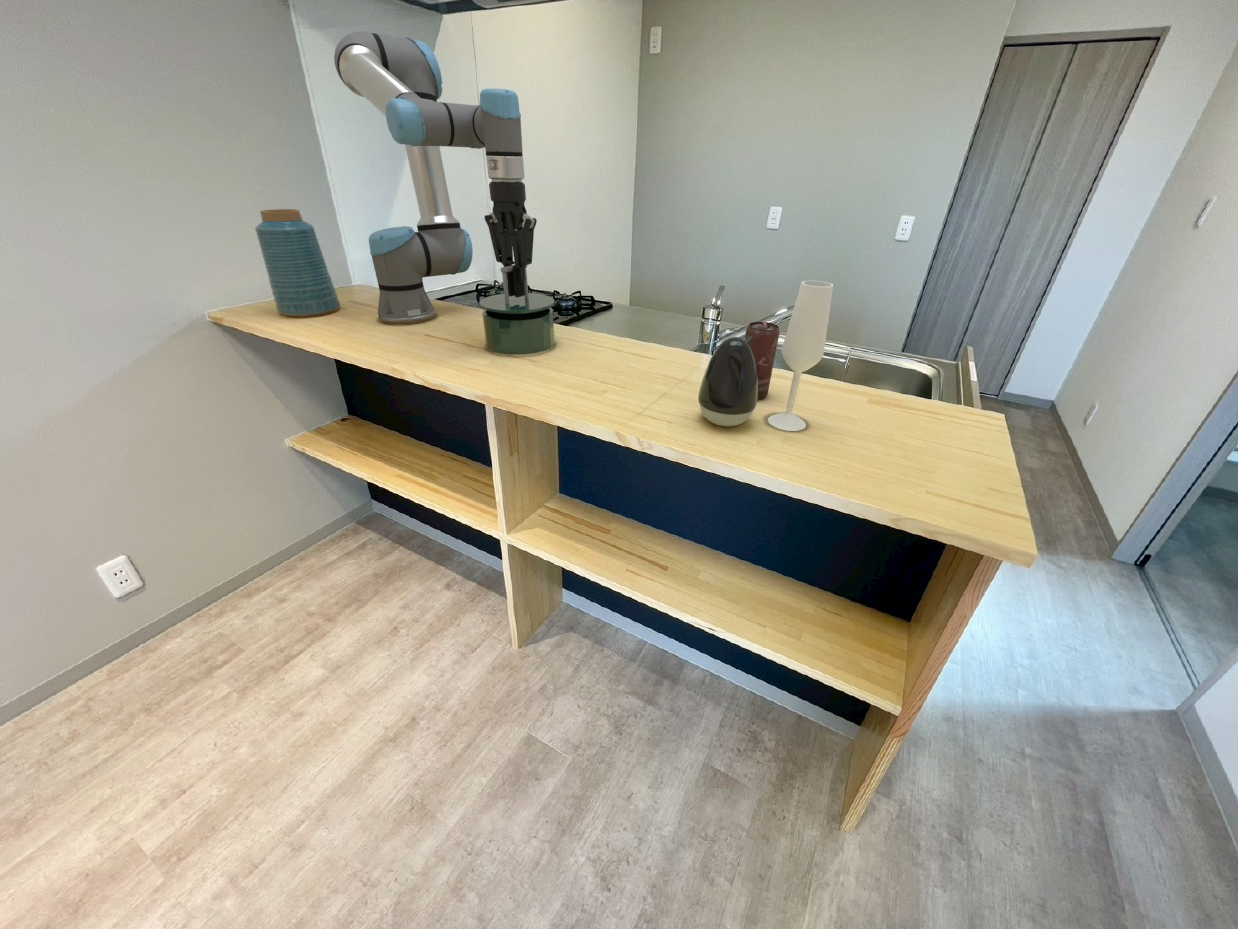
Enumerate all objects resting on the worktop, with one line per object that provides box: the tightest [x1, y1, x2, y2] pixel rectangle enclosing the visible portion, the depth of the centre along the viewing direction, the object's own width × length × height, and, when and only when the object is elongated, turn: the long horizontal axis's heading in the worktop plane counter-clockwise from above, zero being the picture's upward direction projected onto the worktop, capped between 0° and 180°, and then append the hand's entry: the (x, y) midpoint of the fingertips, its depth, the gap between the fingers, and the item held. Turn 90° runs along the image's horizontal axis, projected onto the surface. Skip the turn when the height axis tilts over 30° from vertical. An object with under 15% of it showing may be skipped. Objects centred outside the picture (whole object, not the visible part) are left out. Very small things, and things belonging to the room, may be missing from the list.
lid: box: [479, 264, 555, 314], centre depth 115 cm, size 18×18×9 cm
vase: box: [254, 208, 341, 319], centre depth 139 cm, size 16×16×27 cm
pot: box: [481, 307, 555, 356], centre depth 120 cm, size 17×17×8 cm
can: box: [744, 320, 780, 401], centre depth 96 cm, size 6×6×14 cm
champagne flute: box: [767, 280, 834, 432], centre depth 82 cm, size 7×7×24 cm
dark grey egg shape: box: [697, 336, 758, 428], centre depth 85 cm, size 10×10×15 cm
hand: (516, 295), depth 116 cm, fingers closed on lid
